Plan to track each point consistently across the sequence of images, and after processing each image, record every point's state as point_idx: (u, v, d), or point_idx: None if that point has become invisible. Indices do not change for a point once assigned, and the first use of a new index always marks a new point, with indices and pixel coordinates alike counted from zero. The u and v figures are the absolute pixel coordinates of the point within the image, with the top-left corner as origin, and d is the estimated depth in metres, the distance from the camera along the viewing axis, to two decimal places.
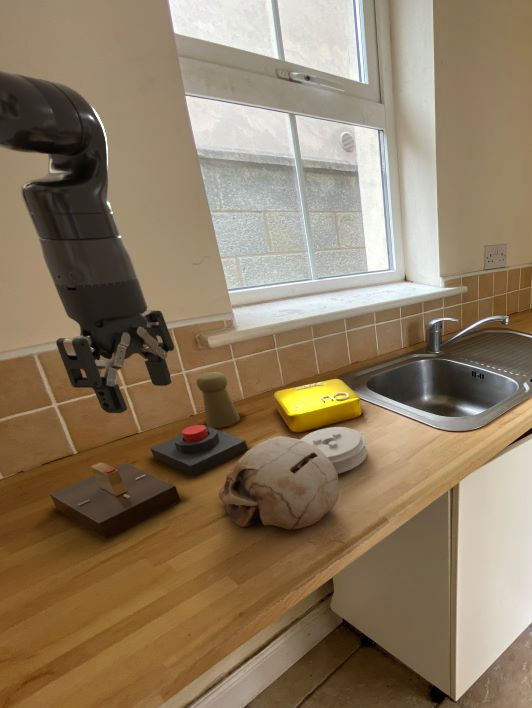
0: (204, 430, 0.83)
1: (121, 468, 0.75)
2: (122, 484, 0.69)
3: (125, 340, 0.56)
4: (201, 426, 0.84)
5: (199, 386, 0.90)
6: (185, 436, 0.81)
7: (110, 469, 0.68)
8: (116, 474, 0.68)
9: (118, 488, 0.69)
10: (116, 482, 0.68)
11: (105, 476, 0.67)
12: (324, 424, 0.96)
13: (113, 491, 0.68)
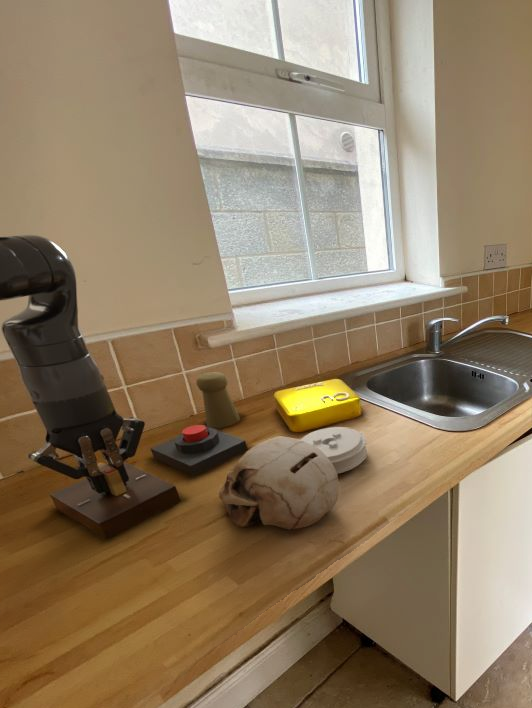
0: (204, 430, 0.83)
1: None
2: (122, 484, 0.69)
3: (85, 442, 0.64)
4: (201, 426, 0.84)
5: (199, 386, 0.90)
6: (185, 436, 0.81)
7: (110, 469, 0.68)
8: (116, 474, 0.68)
9: (118, 488, 0.69)
10: (116, 482, 0.68)
11: (105, 476, 0.67)
12: (324, 424, 0.96)
13: (113, 491, 0.68)
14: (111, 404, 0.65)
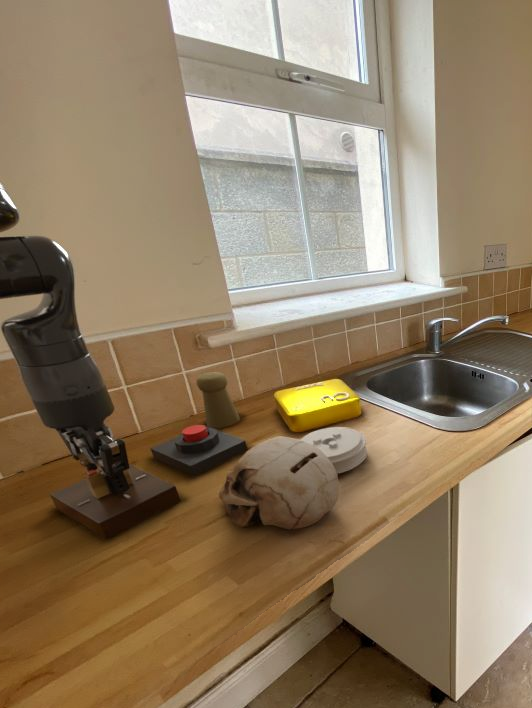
0: (204, 430, 0.83)
1: None
2: (93, 490, 0.67)
3: (67, 438, 0.65)
4: (201, 426, 0.84)
5: (199, 386, 0.90)
6: (185, 436, 0.81)
7: (90, 472, 0.67)
8: (87, 479, 0.66)
9: (92, 491, 0.68)
10: (89, 485, 0.67)
11: None
12: (324, 424, 0.96)
13: None
14: (68, 420, 0.61)
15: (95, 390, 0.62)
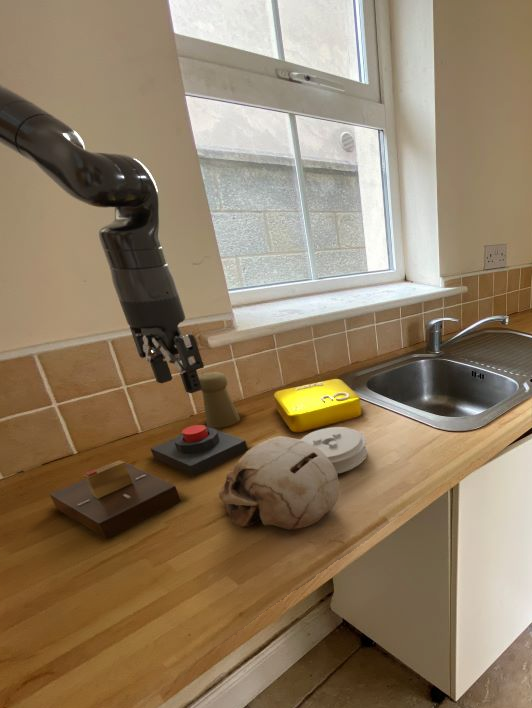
0: (204, 430, 0.83)
1: None
2: (93, 490, 0.67)
3: (145, 340, 0.74)
4: (201, 426, 0.84)
5: None
6: (185, 436, 0.81)
7: (90, 472, 0.67)
8: (87, 479, 0.66)
9: (92, 491, 0.68)
10: (89, 485, 0.67)
11: None
12: (324, 424, 0.96)
13: None
14: (150, 320, 0.70)
15: (172, 296, 0.72)
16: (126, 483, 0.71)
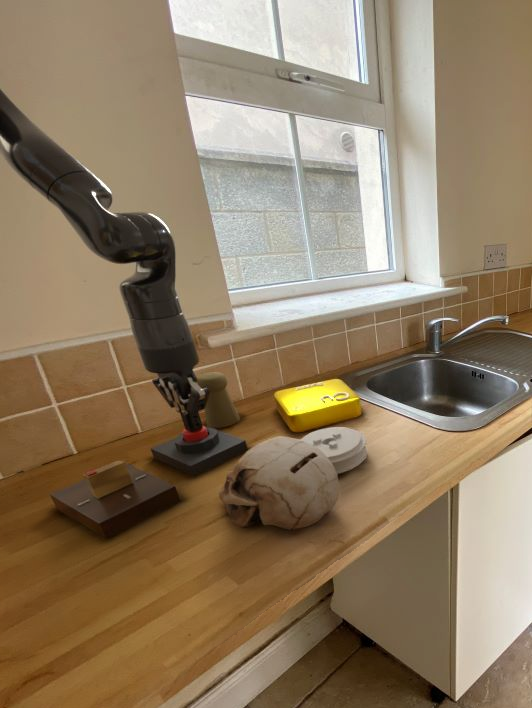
0: (204, 430, 0.83)
1: None
2: (93, 490, 0.67)
3: (162, 384, 0.78)
4: None
5: None
6: (185, 436, 0.81)
7: (90, 472, 0.67)
8: (87, 479, 0.66)
9: (92, 491, 0.68)
10: (89, 485, 0.67)
11: None
12: (324, 424, 0.96)
13: None
14: (167, 366, 0.74)
15: (187, 342, 0.76)
16: (126, 483, 0.71)
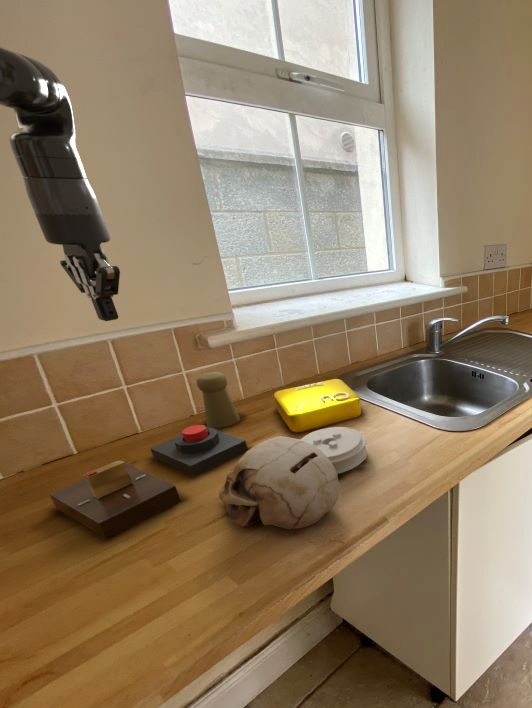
0: (204, 430, 0.83)
1: None
2: (93, 490, 0.67)
3: (67, 261, 0.71)
4: (201, 426, 0.84)
5: (199, 386, 0.90)
6: (185, 436, 0.81)
7: (90, 472, 0.67)
8: (87, 479, 0.66)
9: (92, 491, 0.68)
10: (89, 485, 0.67)
11: None
12: (324, 424, 0.96)
13: None
14: (68, 235, 0.68)
15: (93, 212, 0.69)
16: (126, 483, 0.71)
